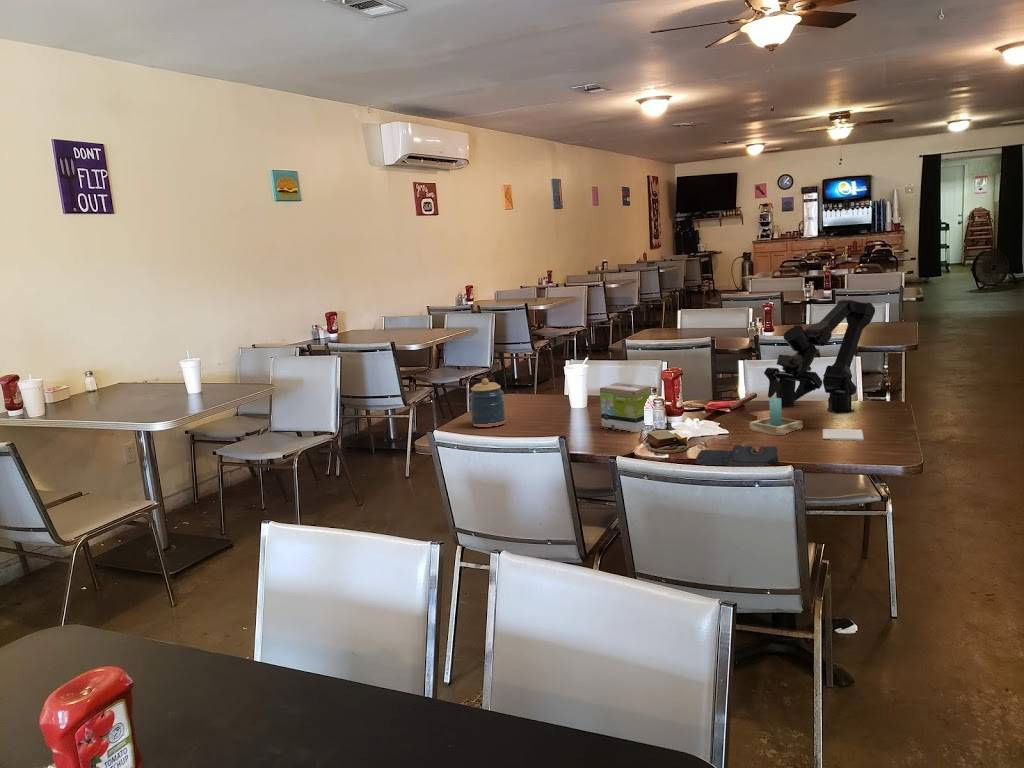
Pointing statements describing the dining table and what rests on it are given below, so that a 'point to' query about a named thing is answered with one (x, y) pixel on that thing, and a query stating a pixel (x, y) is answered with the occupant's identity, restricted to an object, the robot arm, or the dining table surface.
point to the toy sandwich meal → (666, 442)
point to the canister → (487, 403)
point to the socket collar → (786, 427)
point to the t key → (775, 412)
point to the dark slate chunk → (739, 456)
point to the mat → (843, 434)
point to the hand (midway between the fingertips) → (780, 398)
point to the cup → (786, 392)
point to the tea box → (624, 405)
